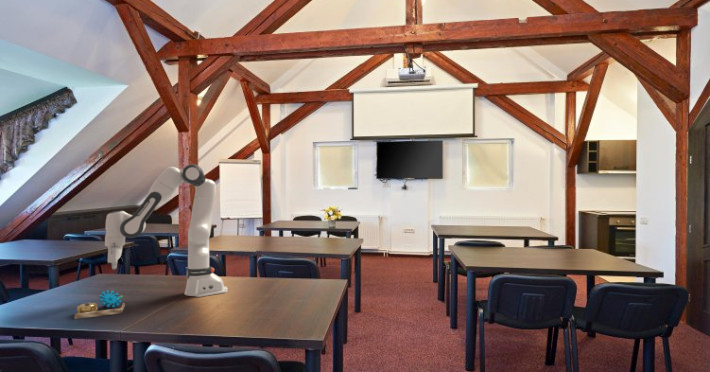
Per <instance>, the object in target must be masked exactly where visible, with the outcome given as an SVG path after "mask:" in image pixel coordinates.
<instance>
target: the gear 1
mask: <svg viewBox="0 0 710 372" xmlns="http://www.w3.org/2000/svg"><path fill="white" fill-rule="evenodd" d="M97 307H98V303H96V302H89V301H86V302H84V303H81V304H80V305H77V306H76V308H77V310H76V311H77V312H76V313H85V312H94V311H98V310H97Z"/></svg>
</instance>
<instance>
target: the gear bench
mask: <svg viewBox="0 0 710 372" xmlns="http://www.w3.org/2000/svg"><path fill="white" fill-rule="evenodd" d="M125 306H126V304H125V302H123V303H122V304H121V307H120V308H112V309H106V310H105V309H103V310H99V307H98V306H97V311H94V312H85V313H77V312H76V313H75V314H74V319H75V320H76V319H77V320H78V319H85V318H94V317H102V316H110V315H117V314H122V313H123V311H124V308H125Z"/></svg>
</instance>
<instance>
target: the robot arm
mask: <svg viewBox="0 0 710 372" xmlns="http://www.w3.org/2000/svg"><path fill="white" fill-rule="evenodd" d="M182 183H185V184H187V185H191V186H194V188H195V191H194V192H195V193H194V198H193V204H192V208H191V209H192V211H191V215H190V222H189V228H188V230H187V252H188V253H187V268H186V278H187V279H186V286H185V291H184V295H185V296H190V297H195V298H196V297H197V298H201V297H208V296H213V295H219V294H225V293H227V292H228V287H227V286H226V285H224V282H223V279H222V278H221V277H220V276H218V275H217V274H215V273H214V272H215V268H214V267H212V266H210V236H211V232H212V224H213V223H212V222H213V215H214V209H215V202H216V196H217V184H216V182H215V181H214V180H213V179H209V178H206V175H205V173H204V170H203V169H202V167H201V166H199V165H197V164H195V163H190V164H186V165H185V167H183V168H181V169H180V168H178V167H176V166H167V167H166V168H165V169H164V170H163V171H162V172H161V173H160V174H159V175H158V176H157V178H155V180H154V181H153V183H152V185H151V187H150V188H149V191H148V192H147V195H146V197H145V199H144V200H143V202H142V203H141V204H140V206H138V208H137V210H136V211H135V212H134V213H133V214H130V213H127V212H126V211H124V210H117V211H116V210H115V211H111V212H108V214H107V215H106V219H105V228H104V229H105V234H104V235H105V236H104V246H105V247H107V264H111V269H112V270H116V269H117V267H118V266H117V265H118V262H119V261H118V260H119V259H120V258H121V256H122V253H123V246H125V245H126V239H135V238H137V237H140V235H142V233H143V232H144V231H145V229H146V228H147V223H146V221H147V219H148V218H149V217H150V215H151V214H153V212H154V210H155V209H156V208H157V207H158V206H159V205H161V204H162V203H164V202H166V201H167V200H169V198H170V197H171V196H172V194H174V193H175V191H176V190H177V188H178V187H179V186H180V185H181V184H182Z"/></svg>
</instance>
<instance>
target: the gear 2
mask: <svg viewBox="0 0 710 372" xmlns="http://www.w3.org/2000/svg"><path fill="white" fill-rule="evenodd" d="M109 292H110V293H109ZM123 297H124V296H123V295H119V293H118V292H116V293H115V291H114V290H111V291H110V290H106V291H102V292H100V295H99V296H98V298H99V302H101V305H102V306H104V307H106V308H110V307H111V308H112V309H115V307H118V306H120V303H121V302H122V300H121V299H122V298H123Z"/></svg>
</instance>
